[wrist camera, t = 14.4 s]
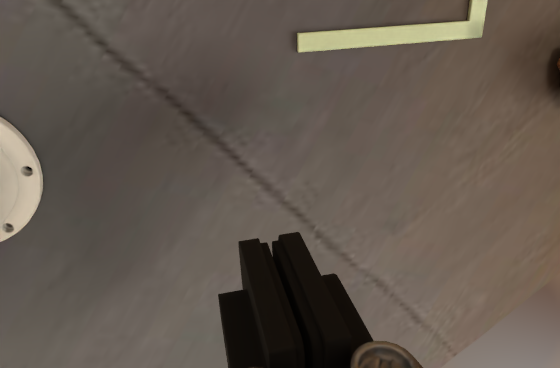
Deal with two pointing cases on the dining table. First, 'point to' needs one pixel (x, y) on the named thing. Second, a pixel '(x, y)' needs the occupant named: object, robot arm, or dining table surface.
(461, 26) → the frame
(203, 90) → the dining table surface
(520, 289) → the dining table surface
